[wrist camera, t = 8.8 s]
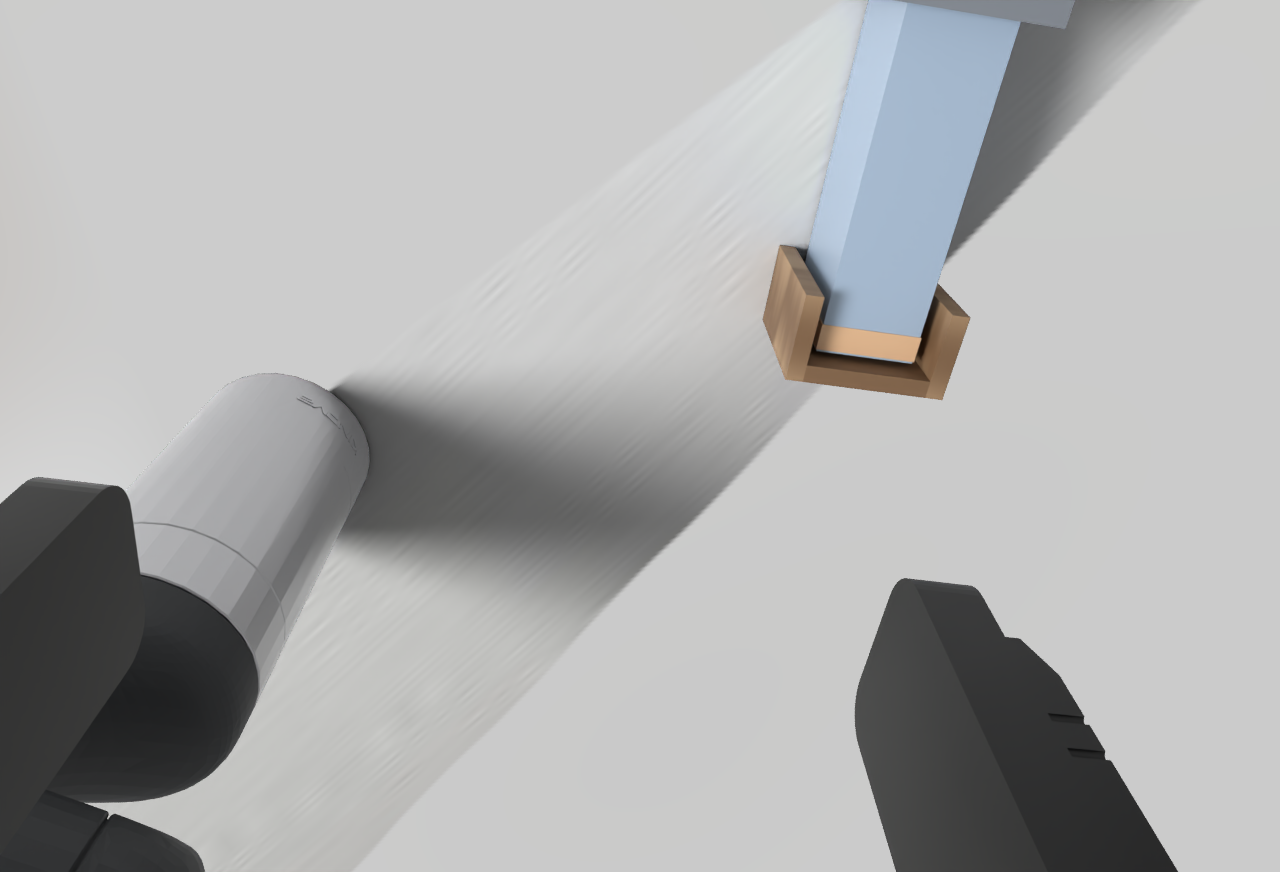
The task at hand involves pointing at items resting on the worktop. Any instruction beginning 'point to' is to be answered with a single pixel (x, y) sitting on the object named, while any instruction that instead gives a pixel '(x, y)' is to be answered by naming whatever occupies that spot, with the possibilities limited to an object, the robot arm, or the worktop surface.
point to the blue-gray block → (1011, 9)
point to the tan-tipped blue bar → (901, 171)
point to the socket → (792, 340)
